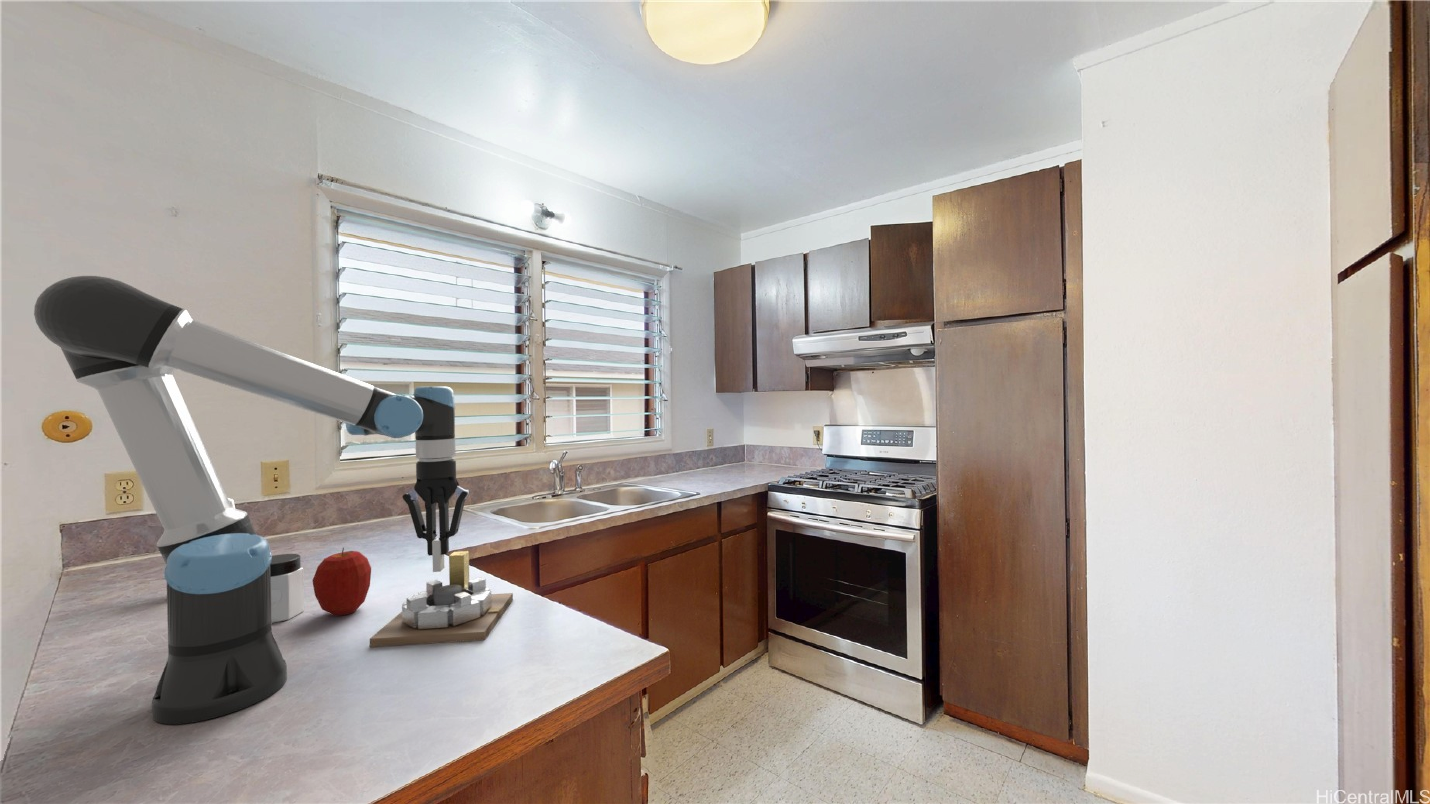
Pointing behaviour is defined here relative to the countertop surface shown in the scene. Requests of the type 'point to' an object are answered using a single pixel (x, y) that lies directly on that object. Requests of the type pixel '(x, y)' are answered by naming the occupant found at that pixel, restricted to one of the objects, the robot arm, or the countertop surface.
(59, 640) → the countertop surface
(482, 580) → the white blocky ring
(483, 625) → the board
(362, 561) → the apple
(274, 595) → the jar
